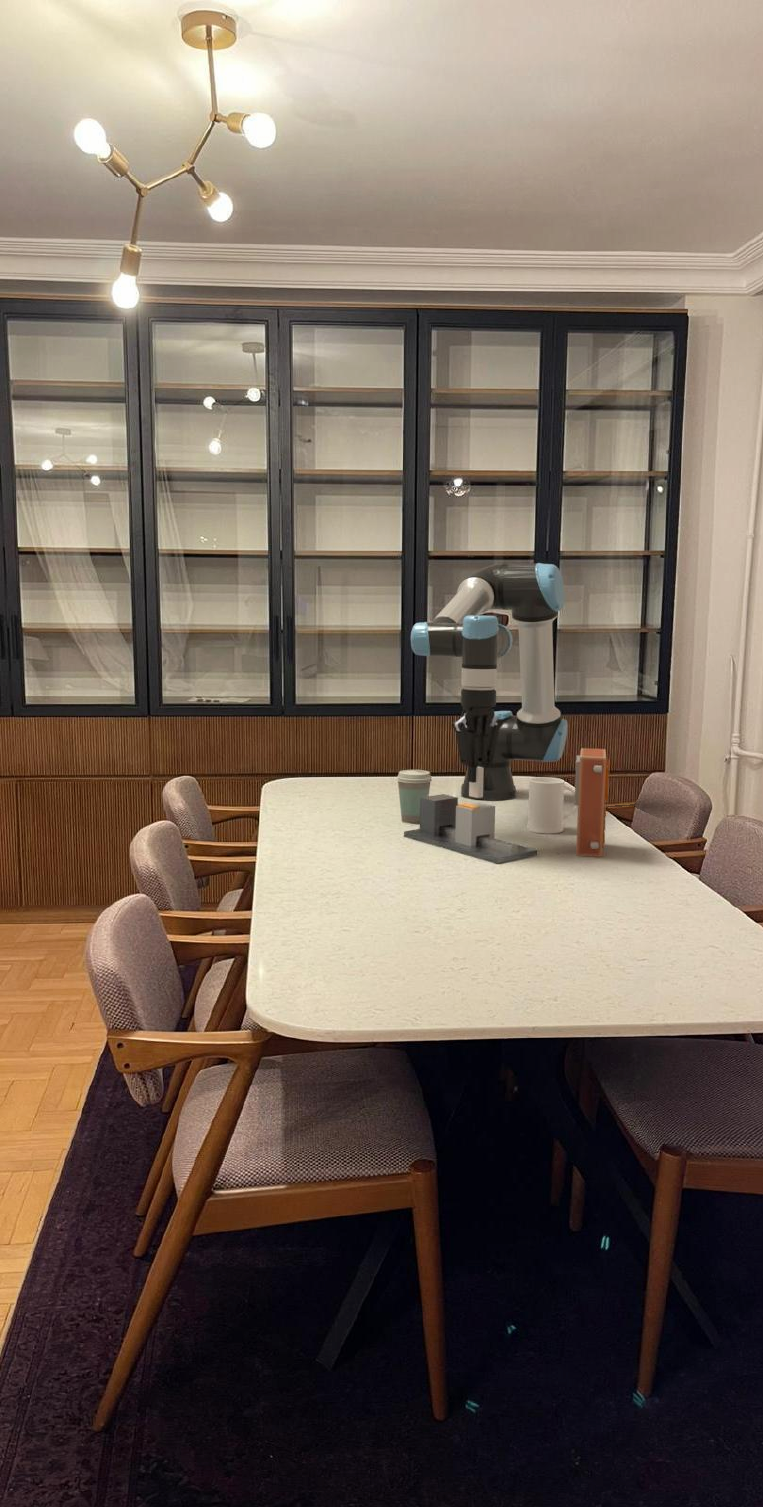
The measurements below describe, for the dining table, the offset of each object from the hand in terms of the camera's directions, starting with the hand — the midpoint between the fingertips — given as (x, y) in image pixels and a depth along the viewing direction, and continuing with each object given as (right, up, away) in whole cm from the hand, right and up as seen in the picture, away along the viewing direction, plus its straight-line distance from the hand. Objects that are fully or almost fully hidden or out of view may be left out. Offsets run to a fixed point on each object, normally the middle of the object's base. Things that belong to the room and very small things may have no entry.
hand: (475, 796), depth 226 cm
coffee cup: (-13, -7, +28) cm, 32 cm away
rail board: (-1, -11, +3) cm, 11 cm away
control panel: (+25, -12, +1) cm, 27 cm away
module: (0, -10, +2) cm, 10 cm away
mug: (+20, -9, +20) cm, 29 cm away
